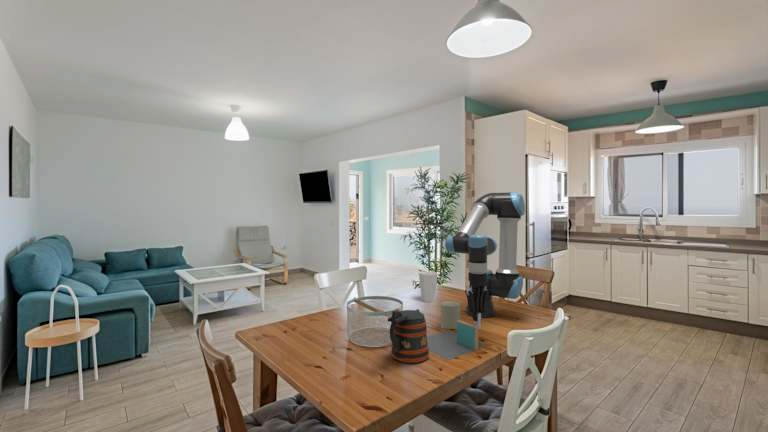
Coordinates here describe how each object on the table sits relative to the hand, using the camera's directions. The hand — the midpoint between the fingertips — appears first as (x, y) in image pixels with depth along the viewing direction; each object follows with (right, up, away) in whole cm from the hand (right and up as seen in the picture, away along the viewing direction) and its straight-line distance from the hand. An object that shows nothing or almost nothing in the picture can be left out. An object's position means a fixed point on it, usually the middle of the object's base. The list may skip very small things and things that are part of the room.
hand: (477, 328), depth 150 cm
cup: (-12, -5, +68) cm, 69 cm away
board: (-12, -7, -1) cm, 14 cm away
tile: (-5, -6, -3) cm, 8 cm away
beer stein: (-30, -8, -12) cm, 34 cm away
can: (-7, -7, +21) cm, 23 cm away
